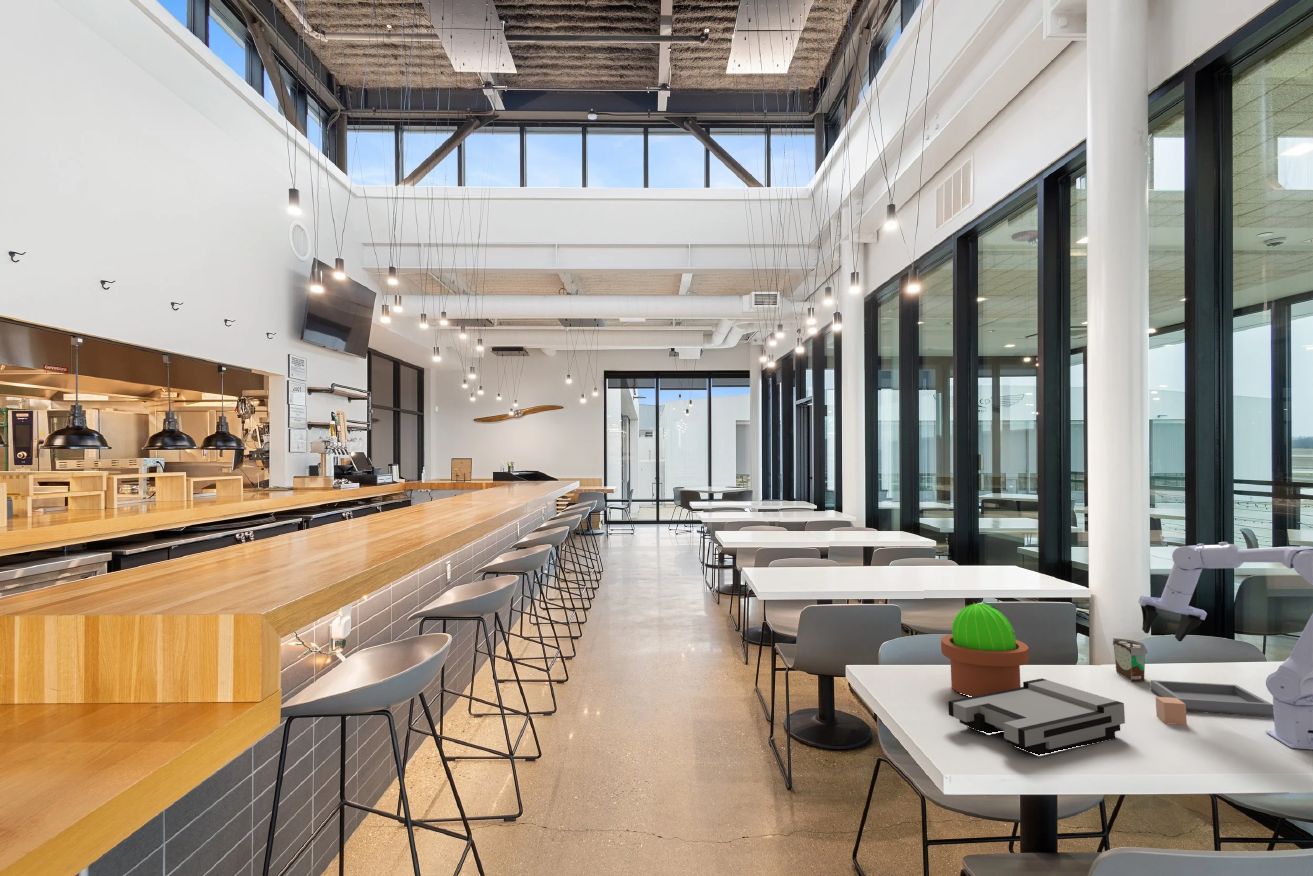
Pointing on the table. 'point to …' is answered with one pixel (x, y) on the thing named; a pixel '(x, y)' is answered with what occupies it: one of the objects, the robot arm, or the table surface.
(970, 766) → the table surface
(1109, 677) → the table surface
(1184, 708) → the terracotta block
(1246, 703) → the bin
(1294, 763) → the table surface
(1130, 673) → the food container
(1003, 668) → the potted cactus
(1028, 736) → the gray blocky slab
